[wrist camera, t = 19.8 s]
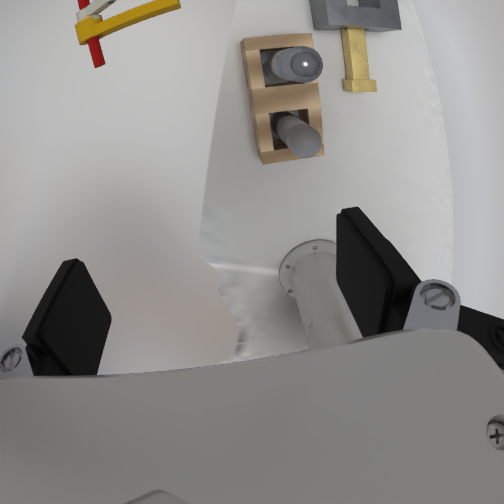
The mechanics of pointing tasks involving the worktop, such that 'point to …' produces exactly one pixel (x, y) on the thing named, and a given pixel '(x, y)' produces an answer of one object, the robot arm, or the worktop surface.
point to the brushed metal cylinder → (293, 64)
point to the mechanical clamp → (112, 21)
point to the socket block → (356, 15)
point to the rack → (282, 104)
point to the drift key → (356, 61)
